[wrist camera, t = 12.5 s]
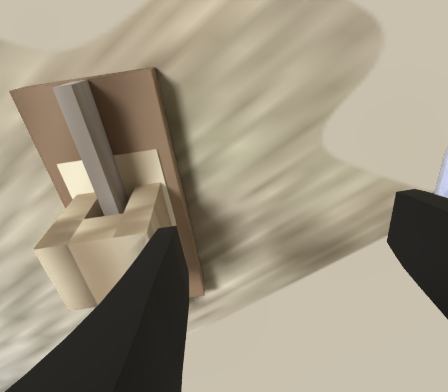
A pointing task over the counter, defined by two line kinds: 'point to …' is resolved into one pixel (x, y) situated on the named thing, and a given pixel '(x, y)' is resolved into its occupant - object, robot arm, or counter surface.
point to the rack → (109, 145)
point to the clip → (99, 244)
